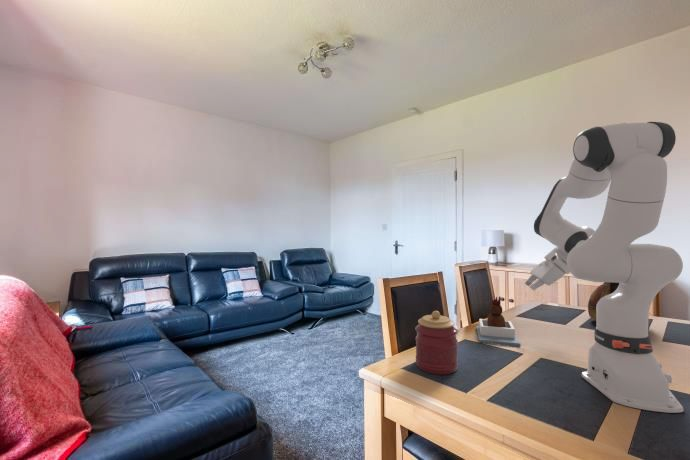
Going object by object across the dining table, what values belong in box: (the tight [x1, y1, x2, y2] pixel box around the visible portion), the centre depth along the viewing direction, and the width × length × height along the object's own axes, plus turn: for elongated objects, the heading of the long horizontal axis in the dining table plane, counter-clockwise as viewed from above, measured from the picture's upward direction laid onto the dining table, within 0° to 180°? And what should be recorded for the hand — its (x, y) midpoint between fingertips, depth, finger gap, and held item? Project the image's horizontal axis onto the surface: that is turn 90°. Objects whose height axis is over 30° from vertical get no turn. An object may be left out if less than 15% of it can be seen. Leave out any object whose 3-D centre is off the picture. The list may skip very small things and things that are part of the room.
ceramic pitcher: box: [587, 282, 619, 321], centre depth 142 cm, size 20×20×30 cm
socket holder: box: [476, 318, 521, 348], centre depth 129 cm, size 18×14×5 cm
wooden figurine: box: [486, 296, 506, 328], centre depth 131 cm, size 7×6×15 cm
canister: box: [415, 310, 459, 375], centre depth 103 cm, size 13×13×18 cm
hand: (528, 286), depth 127 cm, fingers open, 8 cm apart
